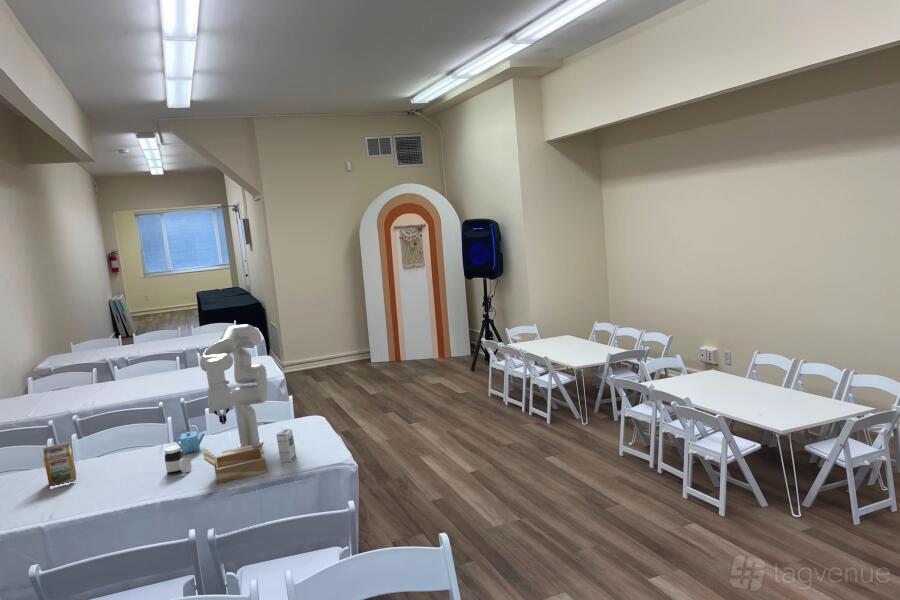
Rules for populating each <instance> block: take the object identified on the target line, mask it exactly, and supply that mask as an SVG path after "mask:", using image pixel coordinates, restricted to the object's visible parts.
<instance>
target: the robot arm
mask: <svg viewBox="0 0 900 600" xmlns="http://www.w3.org/2000/svg"><path fill="white" fill-rule="evenodd" d="M261 341H262V336H261V333H260V331H259V330H258V329H257V328H256V327H254V326H253V325H250V324H247V323H246V324H236V325H229V326H227V327H226V328H225V329H224V330H223V333H222V334H221V337H220V339H219V340H218V341H216V342H215V343H213V344H212V345H210V346H209V347H207V348H206V349H205V350H204V351H203V353H202V355H201V358H200V360H199V361H200V362H199V366H200V368H201V370H202V371H204V372H206V379H207V384H208V389H207V403H208V413H209V414H214V415H216V416H218V419H219V423H221V425H226V422H228V419H227V414H228V412H230V411H233V410H234V411H235V416H236V417H235V418H236V422H237V431H238V438H239V443H238V444H237V448H240V447H245V446H249V445H252V447H253V449H255V448H259V447H262V445H263V443H264V440H263V439H261V438H260V435H259V430H258V429H259V428H258V422H257V414H256V410H255V409H254V407H253V406H252V405H258V404H263V403H266V401H267V399H268V381H267V380H268V378H267V368H266V366H265V365H263V364H262V363H256V364H252V355H251V353H250V351H248V350H247V349H246V348H248V347H257V346H259V345H260V343H261ZM231 354H232V355H231ZM231 367H233V368H234V369H233V370H234V372H233V375H234V377H233V378H234V382H235V383H236V384H238V385H240V386H237V387H235V388H233V389H232V390H230V387H229V384H230V380H226V375H225V371H228V370H230V368H231ZM247 384H253V385H247ZM241 385H243V386H241ZM221 411H223V413H221Z"/></svg>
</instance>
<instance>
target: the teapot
mask: <svg viewBox="0 0 900 600" xmlns="http://www.w3.org/2000/svg"><path fill="white" fill-rule="evenodd" d="M198 435H199V434H198V433H197V431H196V430H194V431H187V432H184V433H181V434H180V436H179V437H177V438H176V440H175V442H176V444H177V445H178V446H180V450H181V451H182V454H184V455H188V454H189V453H192V452H194V453H199V450H200V447H201V445H200V444H202V443H201V442H202V441H203V439H204V437H205V435H206V434H205V432H203V433H201V435H200V436H198ZM179 440H180V442H179Z"/></svg>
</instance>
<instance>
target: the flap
mask: <svg viewBox="0 0 900 600" xmlns="http://www.w3.org/2000/svg"><path fill="white" fill-rule="evenodd" d="M216 457H217V456H215V455H214V454H213V453H211V452H210V451H208V450H207V449H205V448H203V460H204V461H206V462H207V463H208V464H210V465H212V466H213V467H214V468H215V467H217V465H216Z"/></svg>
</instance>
